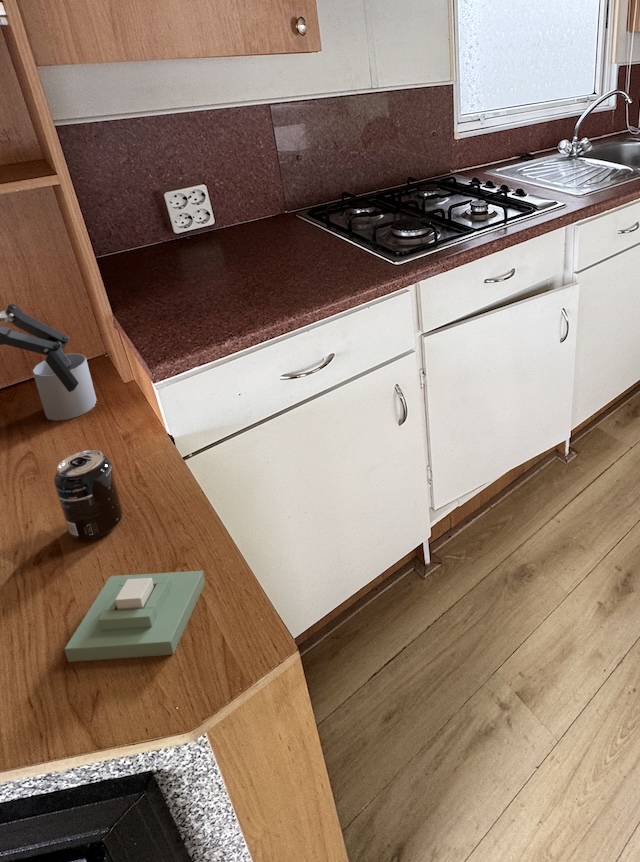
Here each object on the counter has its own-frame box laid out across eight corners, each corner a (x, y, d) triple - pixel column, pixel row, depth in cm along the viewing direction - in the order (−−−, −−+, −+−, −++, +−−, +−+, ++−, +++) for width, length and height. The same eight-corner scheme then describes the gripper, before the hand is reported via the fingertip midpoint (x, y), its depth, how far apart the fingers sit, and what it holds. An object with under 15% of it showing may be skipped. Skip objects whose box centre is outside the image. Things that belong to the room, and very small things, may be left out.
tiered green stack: (68, 662, 69) (60, 638, 67) (113, 587, 78) (107, 565, 77) (173, 654, 70) (167, 631, 68) (205, 582, 79) (201, 560, 78)
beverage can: (106, 504, 92) (89, 441, 88) (134, 519, 89) (118, 455, 85) (60, 535, 86) (40, 469, 82) (88, 551, 83) (69, 485, 79)
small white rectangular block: (117, 610, 71) (114, 600, 71) (130, 589, 74) (127, 578, 73) (143, 609, 71) (140, 598, 71) (154, 587, 74) (152, 577, 74)
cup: (104, 394, 120) (93, 352, 117) (84, 418, 113) (73, 373, 109) (59, 397, 119) (47, 355, 116) (36, 422, 111) (22, 377, 108)
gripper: (29, 283, 99) (103, 380, 99) (-178, 347, 78) (-86, 471, 77) (39, 259, 96) (116, 360, 95) (-175, 319, 74) (-78, 450, 73)
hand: (26, 410), depth 86 cm, fingers open, 13 cm apart
